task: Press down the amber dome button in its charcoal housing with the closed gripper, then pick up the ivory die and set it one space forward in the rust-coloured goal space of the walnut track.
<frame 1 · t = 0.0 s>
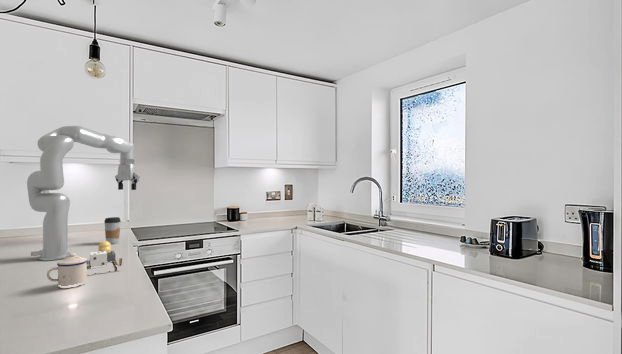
hand: (127, 189, 204), 31 cm above the worktop, tool pointing down, fingers open, 9 cm apart
dome button: (104, 247, 156), point 6 cm above the worktop, slide at 0.0 cm
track: (99, 268, 144), on the worktop
coffee cup: (112, 243, 194), on the worktop
die: (98, 266, 147), on the worktop
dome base: (104, 260, 156), on the worktop
teacup with lid: (67, 286, 121), on the worktop
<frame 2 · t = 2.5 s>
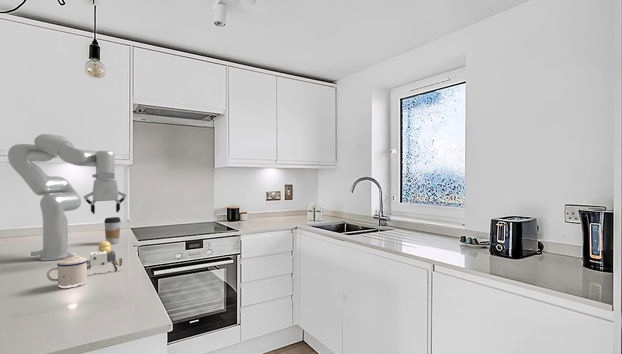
hand: (105, 212, 157), 23 cm above the worktop, tool pointing down, fingers open, 9 cm apart
nothing on the worktop moved.
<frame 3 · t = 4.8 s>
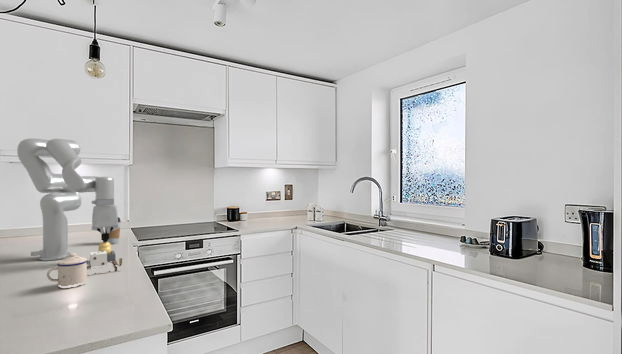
hand: (105, 241, 156), 9 cm above the worktop, tool pointing down, fingers closed
dome button: (104, 248, 156), point 6 cm above the worktop, slide at 0.2 cm, touching gripper
everything else where it was.
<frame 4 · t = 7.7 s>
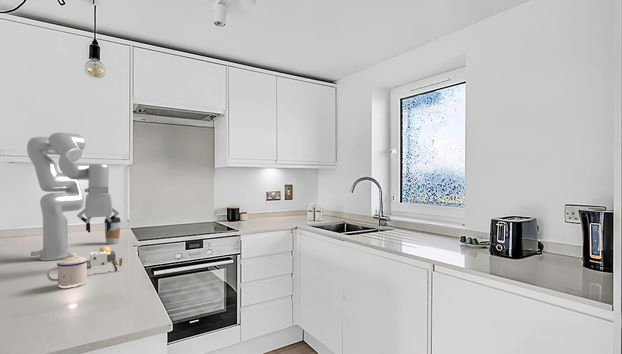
hand: (98, 231, 147), 16 cm above the worktop, tool pointing down, fingers open, 6 cm apart
dome button: (104, 253, 156), point 4 cm above the worktop, slide at 2.5 cm
everything else where it was.
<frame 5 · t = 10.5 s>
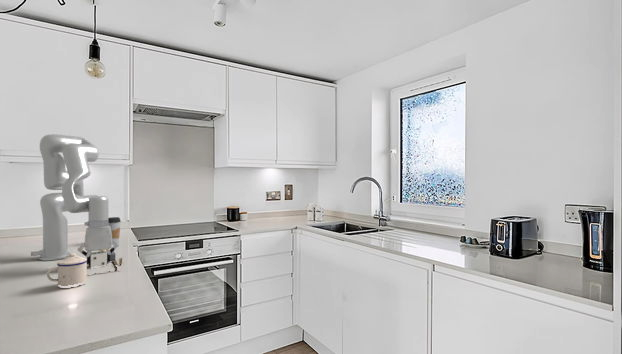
hand: (98, 263, 147), 1 cm above the worktop, tool pointing down, fingers closed on die, 6 cm apart
die: (98, 266, 147), on the worktop, touching gripper
everything else where it was.
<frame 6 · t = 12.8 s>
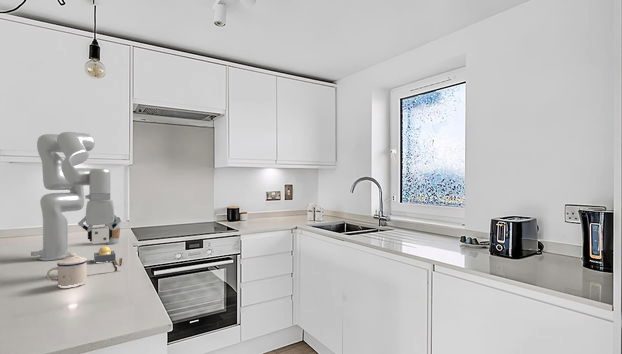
hand: (100, 239, 140), 13 cm above the worktop, tool pointing down, fingers closed on die, 6 cm apart
die: (100, 241, 140), point 12 cm above the worktop, touching gripper
everything else where it was.
when the fingers open (2 cm above the worktop, at t = 15.1 s): die drops 1 cm, on the worktop.
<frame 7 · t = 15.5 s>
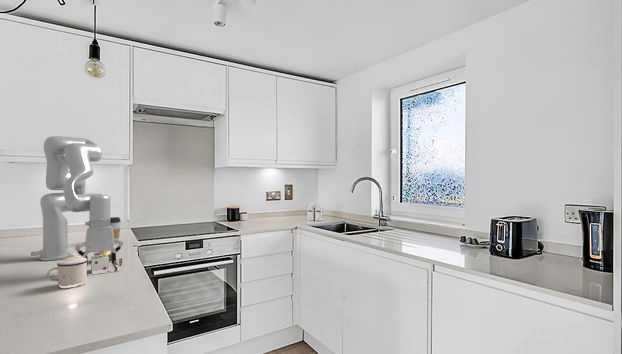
hand: (99, 264, 140), 3 cm above the worktop, tool pointing down, fingers open, 9 cm apart
die: (99, 270, 140), on the worktop
everything else where it was.
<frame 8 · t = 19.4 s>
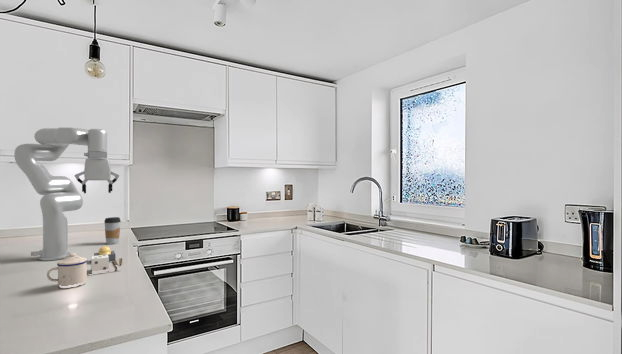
hand: (97, 193, 152), 32 cm above the worktop, tool pointing down, fingers open, 9 cm apart
nothing on the worktop moved.
at the end: dome button slide at 2.5 cm; die inside the target area (0.2 cm from its centre), on the worktop; die tilted 0° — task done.
